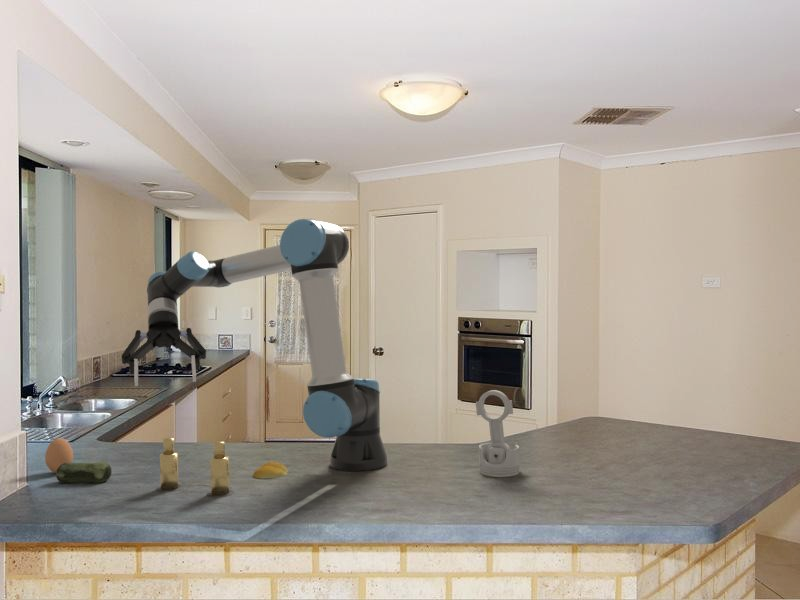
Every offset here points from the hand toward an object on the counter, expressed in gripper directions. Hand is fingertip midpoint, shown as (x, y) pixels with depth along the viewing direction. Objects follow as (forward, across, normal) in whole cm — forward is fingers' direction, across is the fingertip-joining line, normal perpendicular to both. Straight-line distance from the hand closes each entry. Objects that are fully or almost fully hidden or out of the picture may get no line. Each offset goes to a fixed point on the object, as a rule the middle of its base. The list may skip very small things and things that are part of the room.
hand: (165, 380), depth 169 cm
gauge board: (+29, -5, -7) cm, 30 cm away
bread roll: (+23, -24, -14) cm, 36 cm away
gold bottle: (+31, -11, -3) cm, 33 cm away
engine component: (+35, -78, -3) cm, 86 cm away
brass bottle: (+24, 0, -10) cm, 26 cm away
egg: (+2, +27, -33) cm, 43 cm away
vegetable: (+11, +20, -25) cm, 34 cm away
